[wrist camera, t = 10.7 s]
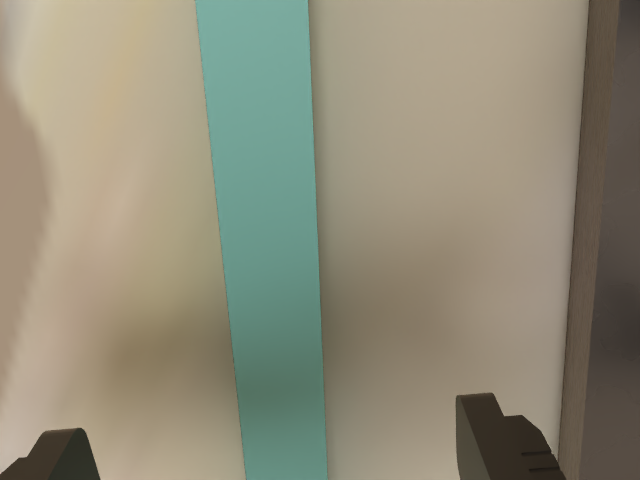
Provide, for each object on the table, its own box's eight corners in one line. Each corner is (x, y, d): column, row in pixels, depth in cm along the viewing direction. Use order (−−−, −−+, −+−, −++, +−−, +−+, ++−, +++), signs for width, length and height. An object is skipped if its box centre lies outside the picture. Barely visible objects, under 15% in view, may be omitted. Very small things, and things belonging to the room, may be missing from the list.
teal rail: (302, -105, 14) (302, -125, 12) (330, 566, 22) (333, 629, 20) (201, -101, 14) (182, -121, 12) (266, 570, 22) (262, 633, 20)
